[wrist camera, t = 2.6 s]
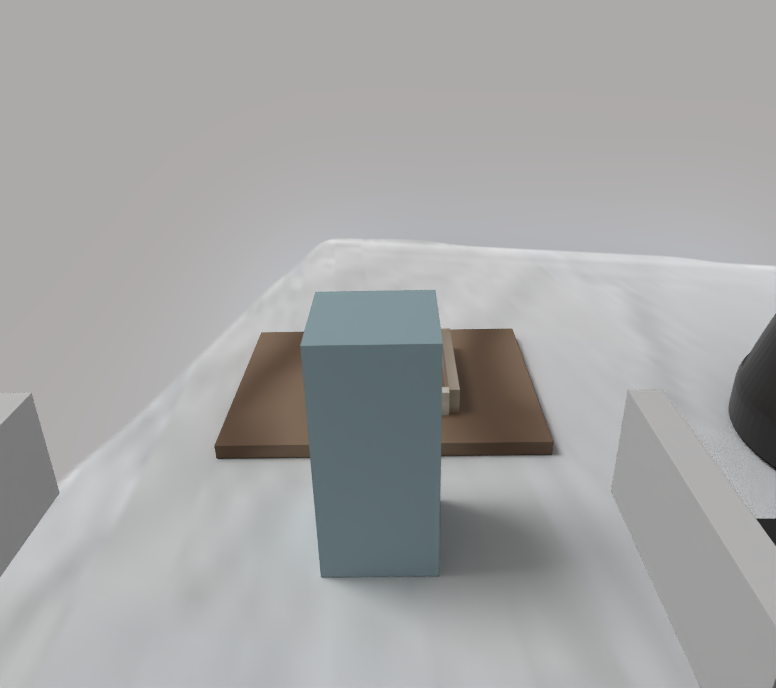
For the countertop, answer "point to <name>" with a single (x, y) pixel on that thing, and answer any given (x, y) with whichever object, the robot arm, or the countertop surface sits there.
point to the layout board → (459, 399)
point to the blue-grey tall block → (375, 430)
